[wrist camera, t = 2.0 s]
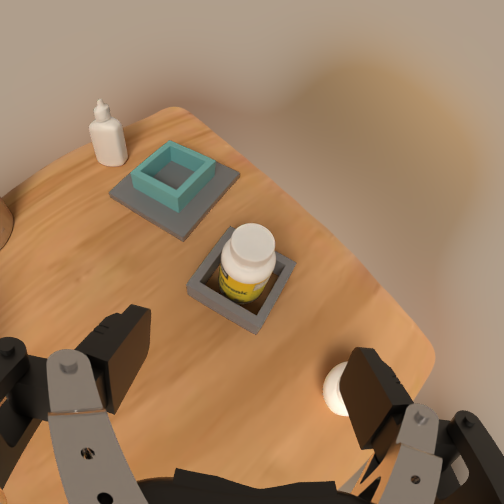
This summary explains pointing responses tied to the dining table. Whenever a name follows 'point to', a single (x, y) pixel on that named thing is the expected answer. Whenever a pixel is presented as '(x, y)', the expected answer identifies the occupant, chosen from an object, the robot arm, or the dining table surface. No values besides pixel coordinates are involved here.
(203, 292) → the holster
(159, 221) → the port
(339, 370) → the white ribbed rounded piece
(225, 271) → the supplement bottle
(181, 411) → the dining table surface
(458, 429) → the robot arm
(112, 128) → the eye dropper bottle
